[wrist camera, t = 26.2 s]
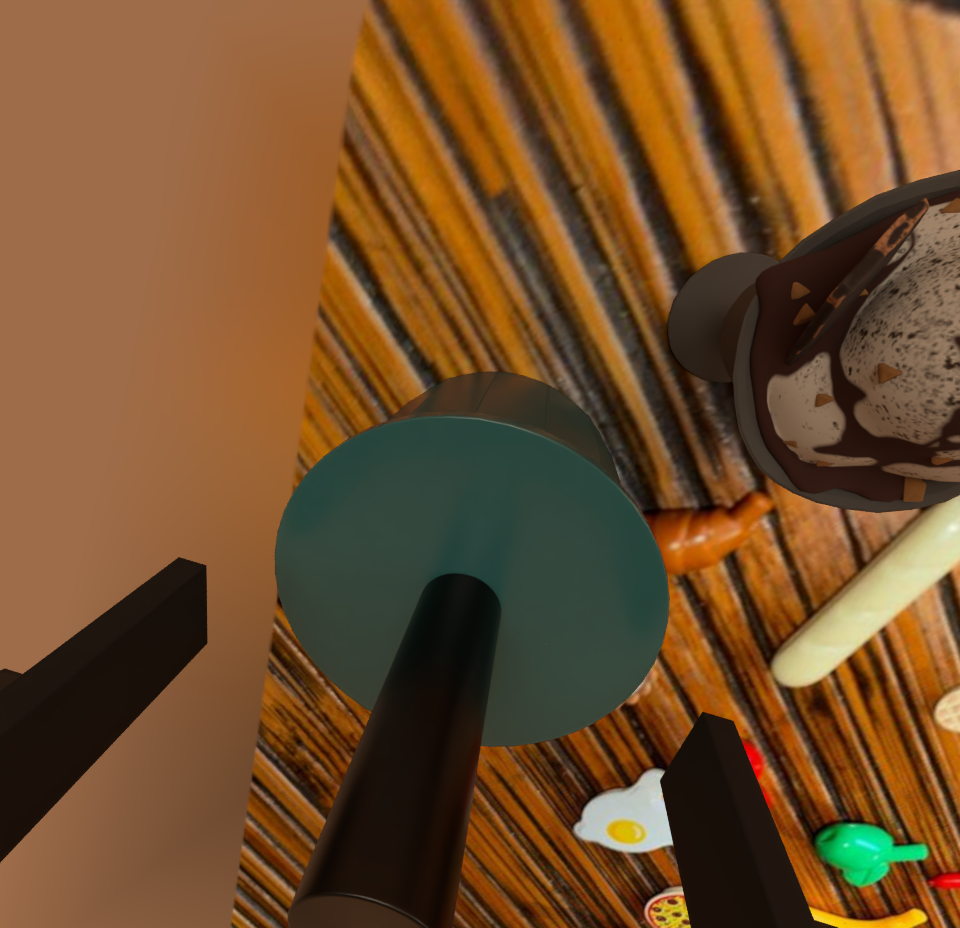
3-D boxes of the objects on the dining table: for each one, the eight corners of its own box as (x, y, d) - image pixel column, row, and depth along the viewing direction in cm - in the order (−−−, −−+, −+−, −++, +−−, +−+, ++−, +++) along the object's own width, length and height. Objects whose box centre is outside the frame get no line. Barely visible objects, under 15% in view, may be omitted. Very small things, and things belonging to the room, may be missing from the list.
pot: (369, 549, 25) (286, 670, 17) (402, 342, 21) (310, 382, 13) (570, 607, 25) (578, 759, 17) (649, 408, 20) (709, 491, 12)
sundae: (831, 378, 19) (1612, 659, 5) (659, 417, 20) (882, 711, 6) (824, 201, 17) (2164, -180, 3) (633, 260, 18) (879, 205, 4)
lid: (281, 664, 18) (53, 989, 10) (305, 356, 13) (-111, 488, 5) (587, 758, 18) (617, 1187, 9) (732, 471, 13) (1071, 842, 4)
